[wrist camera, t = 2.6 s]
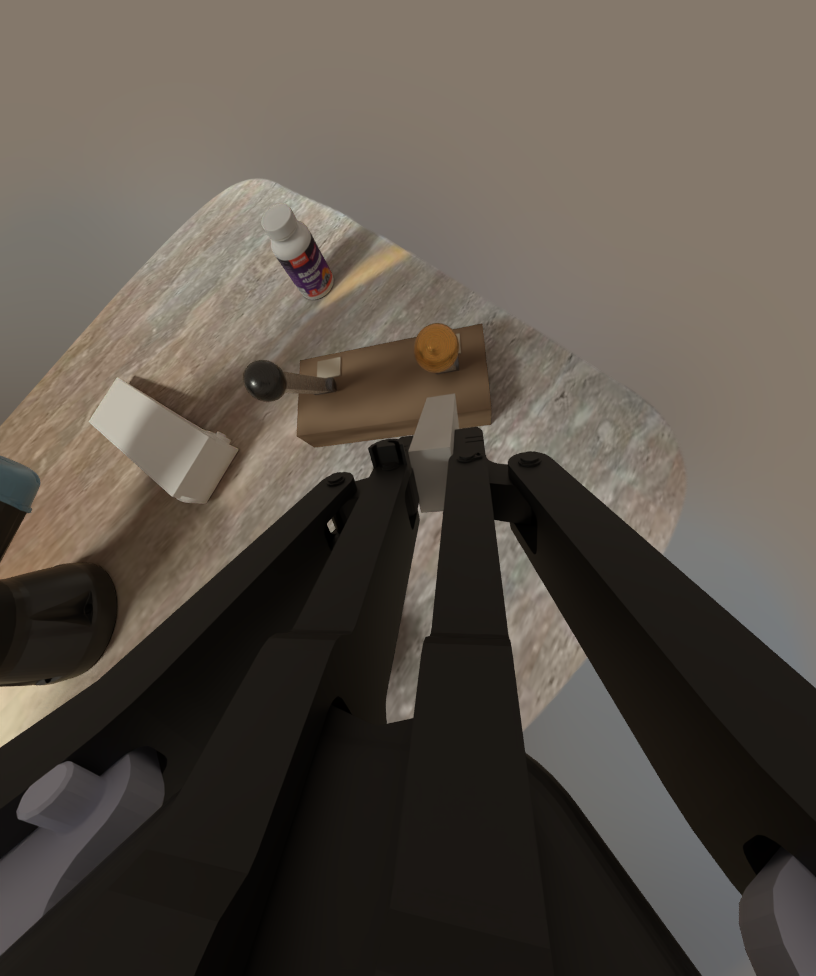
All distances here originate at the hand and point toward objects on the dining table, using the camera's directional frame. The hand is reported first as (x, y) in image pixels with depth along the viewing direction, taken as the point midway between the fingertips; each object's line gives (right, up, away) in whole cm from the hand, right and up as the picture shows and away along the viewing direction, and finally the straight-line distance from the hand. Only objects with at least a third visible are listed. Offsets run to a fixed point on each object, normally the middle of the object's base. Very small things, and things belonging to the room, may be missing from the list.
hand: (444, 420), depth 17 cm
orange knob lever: (+2, +9, +15) cm, 18 cm away
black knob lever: (-12, +8, +18) cm, 23 cm away
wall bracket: (-38, +4, +30) cm, 49 cm away
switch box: (-4, +7, +21) cm, 23 cm away
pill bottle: (-15, +26, +29) cm, 42 cm away
